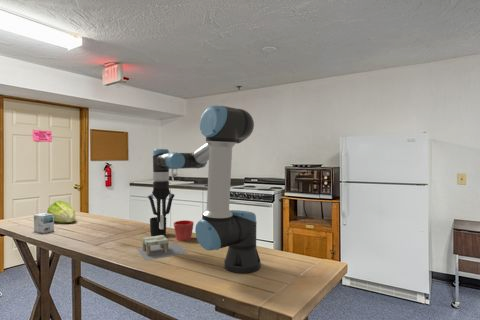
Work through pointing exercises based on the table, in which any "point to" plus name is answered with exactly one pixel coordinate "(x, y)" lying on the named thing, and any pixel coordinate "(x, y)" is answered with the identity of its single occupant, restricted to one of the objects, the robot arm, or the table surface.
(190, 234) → the flower pot
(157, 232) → the pen holder
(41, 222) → the light bulb box
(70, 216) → the lettuce
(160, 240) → the stool
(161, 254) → the mat
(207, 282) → the table surface
